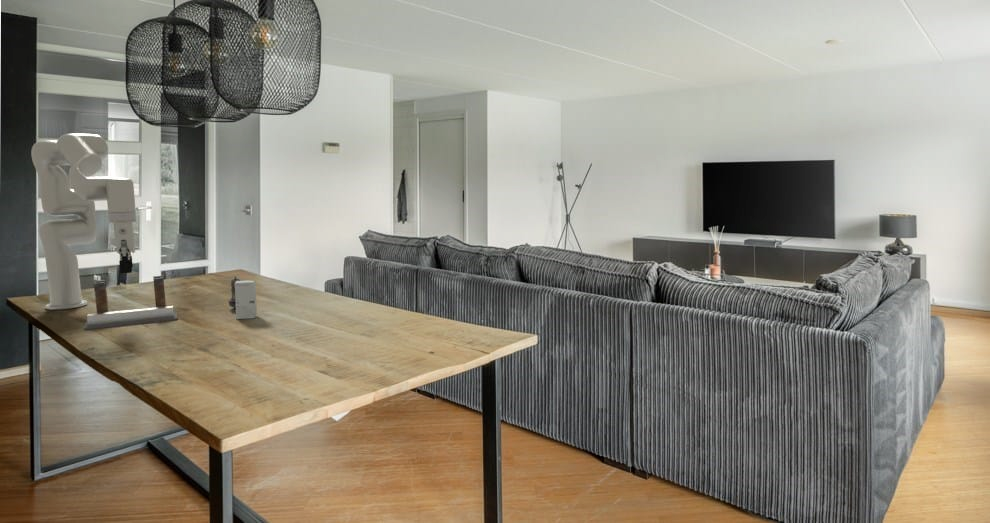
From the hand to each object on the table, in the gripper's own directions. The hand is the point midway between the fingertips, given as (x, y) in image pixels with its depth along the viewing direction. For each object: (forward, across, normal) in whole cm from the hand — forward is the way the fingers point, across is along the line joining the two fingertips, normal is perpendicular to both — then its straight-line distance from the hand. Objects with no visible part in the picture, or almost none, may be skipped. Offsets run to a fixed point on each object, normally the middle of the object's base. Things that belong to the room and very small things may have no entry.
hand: (126, 270), depth 200 cm
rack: (+17, +9, 0) cm, 19 cm away
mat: (+17, -1, 0) cm, 17 cm away
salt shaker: (+16, 0, -32) cm, 36 cm away
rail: (+16, -1, 0) cm, 16 cm away
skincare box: (+16, -14, -34) cm, 40 cm away
